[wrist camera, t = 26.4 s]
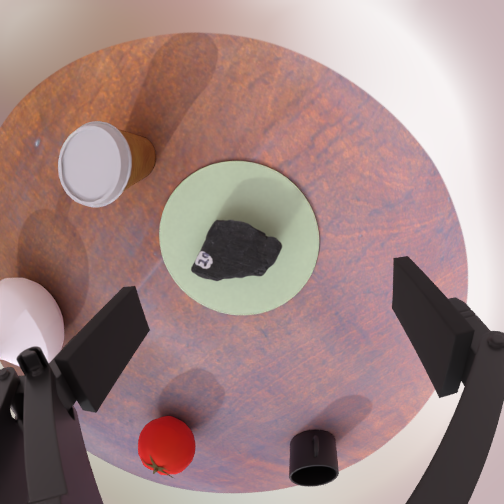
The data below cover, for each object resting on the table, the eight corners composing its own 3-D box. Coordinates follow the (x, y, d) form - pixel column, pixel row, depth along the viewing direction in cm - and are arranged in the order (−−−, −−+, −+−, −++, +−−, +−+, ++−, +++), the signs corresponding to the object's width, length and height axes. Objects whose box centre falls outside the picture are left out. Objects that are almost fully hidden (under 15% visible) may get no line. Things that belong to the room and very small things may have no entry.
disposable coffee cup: (124, 113, 38) (73, 108, 26) (179, 142, 39) (140, 143, 27) (97, 172, 41) (45, 185, 30) (148, 203, 42) (104, 225, 31)
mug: (339, 420, 52) (344, 456, 44) (332, 452, 56) (335, 485, 48) (291, 422, 53) (290, 459, 45) (289, 454, 57) (288, 487, 49)
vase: (11, 251, 48) (-58, 292, 30) (78, 285, 48) (8, 345, 30) (17, 324, 54) (-35, 371, 36) (79, 360, 54) (30, 421, 36)
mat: (308, 149, 37) (308, 149, 37) (324, 306, 44) (324, 307, 44) (145, 177, 41) (144, 177, 40) (180, 318, 48) (179, 319, 47)
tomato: (153, 433, 59) (135, 477, 47) (145, 398, 55) (121, 446, 43) (203, 444, 59) (190, 491, 46) (201, 410, 55) (185, 463, 42)
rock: (193, 265, 44) (181, 283, 38) (222, 201, 40) (213, 210, 35) (250, 293, 44) (246, 314, 39) (284, 231, 41) (285, 246, 35)
